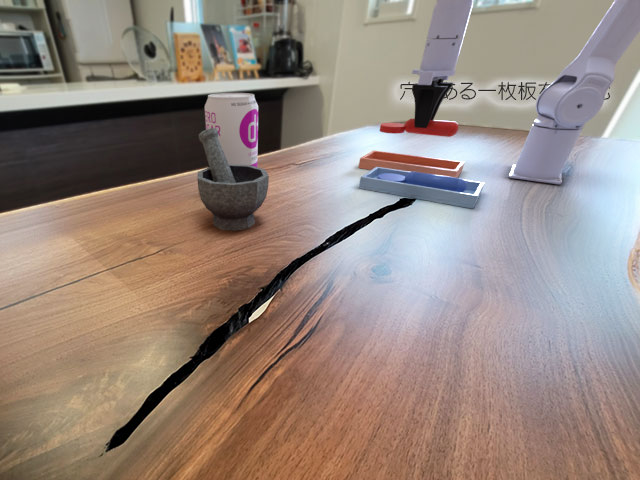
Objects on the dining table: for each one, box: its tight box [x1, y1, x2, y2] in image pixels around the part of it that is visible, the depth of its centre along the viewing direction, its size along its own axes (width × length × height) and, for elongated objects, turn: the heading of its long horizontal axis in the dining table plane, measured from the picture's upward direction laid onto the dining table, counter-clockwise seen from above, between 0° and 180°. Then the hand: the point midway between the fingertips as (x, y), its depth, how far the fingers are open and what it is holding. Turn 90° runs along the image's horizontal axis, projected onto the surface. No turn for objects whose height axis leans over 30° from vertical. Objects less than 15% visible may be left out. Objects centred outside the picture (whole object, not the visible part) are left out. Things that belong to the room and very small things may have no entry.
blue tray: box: [358, 167, 485, 209], centre depth 62 cm, size 8×18×2 cm, turn 54°
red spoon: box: [379, 117, 459, 138], centre depth 70 cm, size 14×5×3 cm, turn 54°
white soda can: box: [204, 92, 259, 168], centre depth 58 cm, size 8×8×15 cm
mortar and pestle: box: [197, 128, 270, 232], centre depth 49 cm, size 11×9×12 cm
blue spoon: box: [377, 172, 467, 193], centre depth 61 cm, size 14×5×3 cm, turn 54°
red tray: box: [357, 150, 465, 178], centre depth 73 cm, size 8×18×2 cm, turn 54°
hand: (422, 126), depth 69 cm, fingers closed on red spoon, 2 cm apart
